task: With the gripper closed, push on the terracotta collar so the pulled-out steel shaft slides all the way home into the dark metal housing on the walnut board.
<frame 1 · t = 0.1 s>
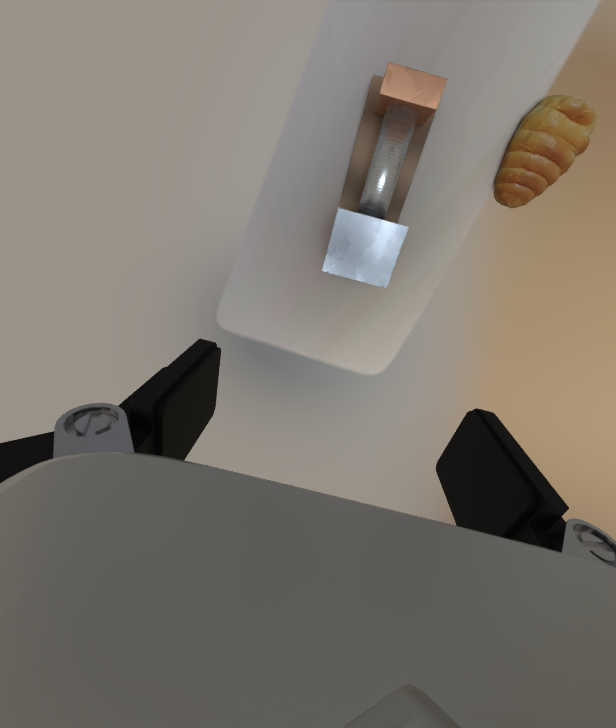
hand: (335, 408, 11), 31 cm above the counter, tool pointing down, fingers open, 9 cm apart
shaft: (385, 168, 29), point 5 cm above the counter, slide at 4.0 cm
shaft frame: (371, 199, 35), on the counter
pastry: (534, 154, 32), on the counter
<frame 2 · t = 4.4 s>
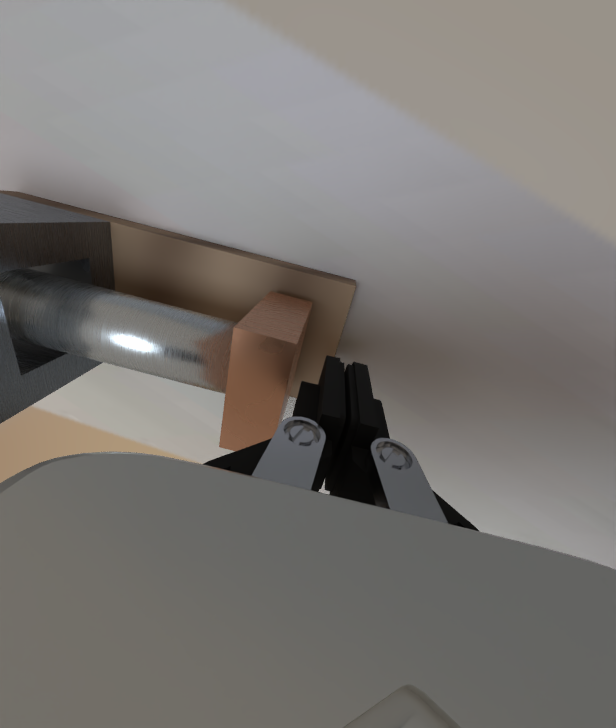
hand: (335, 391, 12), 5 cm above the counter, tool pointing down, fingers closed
shaft: (143, 335, 12), point 5 cm above the counter, slide at 3.2 cm, touching gripper
shaft frame: (167, 296, 17), on the counter
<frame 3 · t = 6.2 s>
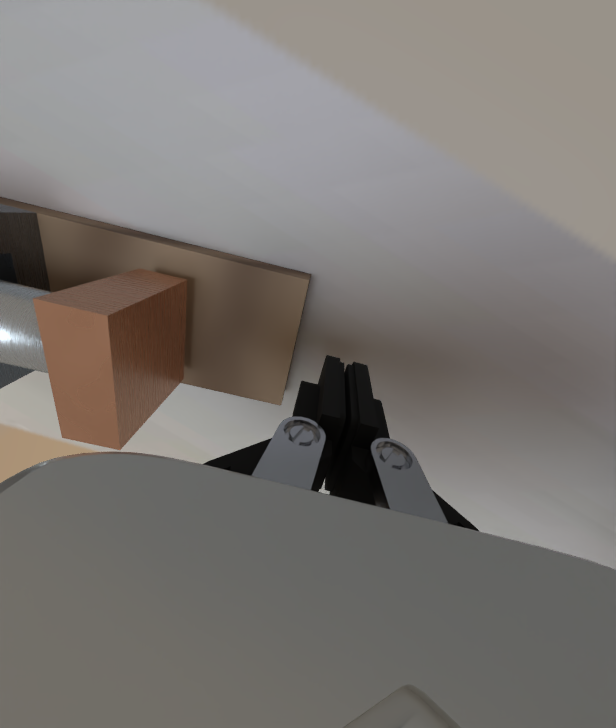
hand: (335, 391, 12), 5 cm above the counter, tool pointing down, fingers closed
shaft frame: (113, 294, 16), on the counter
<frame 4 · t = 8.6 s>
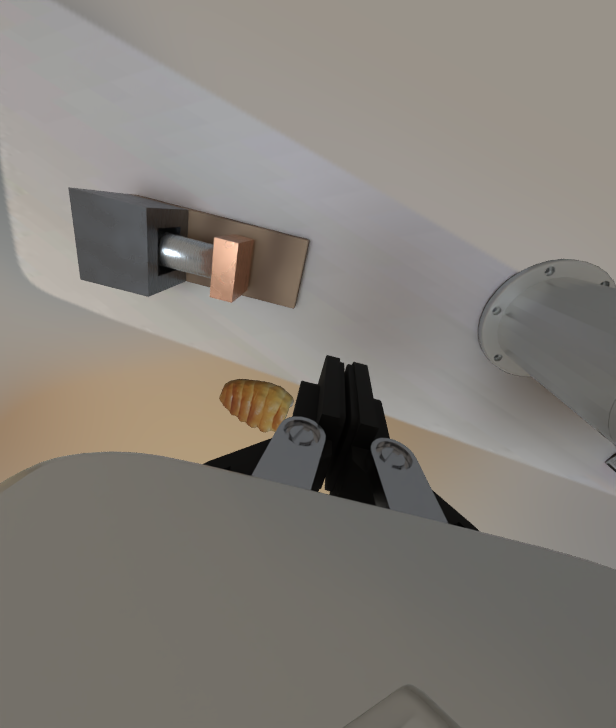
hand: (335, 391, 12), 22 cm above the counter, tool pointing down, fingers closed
shaft: (174, 252, 27), point 5 cm above the counter, slide at 0.0 cm
shaft frame: (212, 250, 31), on the counter
pastry: (263, 399, 40), on the counter
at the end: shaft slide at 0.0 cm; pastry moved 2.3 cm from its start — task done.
